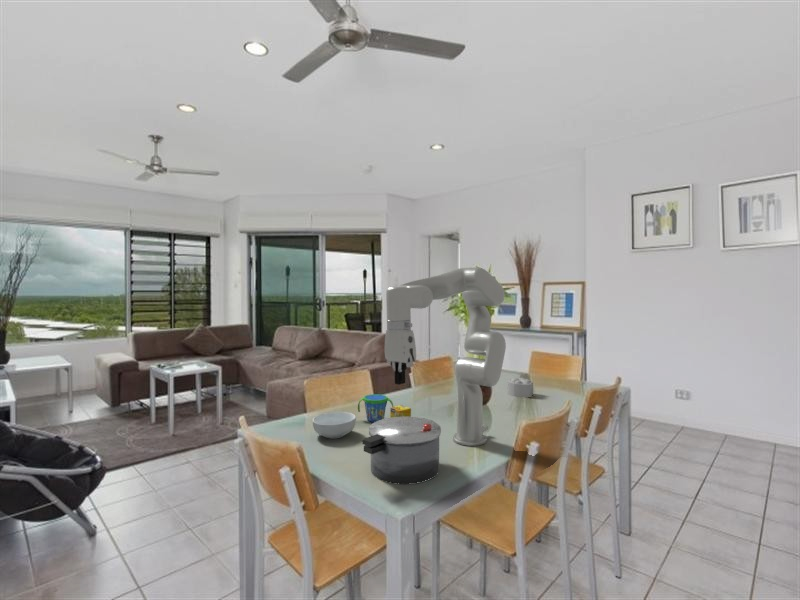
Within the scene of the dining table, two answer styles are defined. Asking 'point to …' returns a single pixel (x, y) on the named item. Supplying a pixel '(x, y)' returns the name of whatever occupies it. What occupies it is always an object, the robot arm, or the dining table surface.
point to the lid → (402, 431)
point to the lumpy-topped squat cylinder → (520, 387)
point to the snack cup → (375, 406)
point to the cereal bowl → (334, 424)
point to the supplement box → (400, 411)
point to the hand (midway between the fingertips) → (400, 383)
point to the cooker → (404, 461)
